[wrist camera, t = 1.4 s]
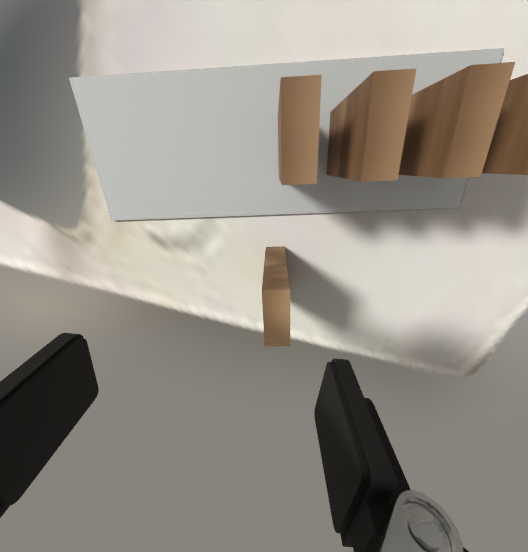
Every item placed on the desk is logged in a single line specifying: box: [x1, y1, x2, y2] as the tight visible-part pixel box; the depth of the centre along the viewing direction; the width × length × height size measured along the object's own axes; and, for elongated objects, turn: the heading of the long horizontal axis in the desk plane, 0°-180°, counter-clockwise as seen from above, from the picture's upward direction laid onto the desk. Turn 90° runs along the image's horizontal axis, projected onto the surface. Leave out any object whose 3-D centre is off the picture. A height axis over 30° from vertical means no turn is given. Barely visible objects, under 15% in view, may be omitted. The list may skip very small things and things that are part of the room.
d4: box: [278, 75, 322, 185], centre depth 18 cm, size 2×5×10 cm, turn 2°
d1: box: [482, 74, 528, 175], centre depth 17 cm, size 2×5×10 cm, turn 3°
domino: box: [262, 247, 290, 346], centre depth 23 cm, size 2×5×10 cm, turn 3°
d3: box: [327, 68, 417, 182], centre depth 17 cm, size 2×5×10 cm, turn 2°
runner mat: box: [69, 48, 504, 221], centre depth 22 cm, size 35×12×1 cm, turn 92°
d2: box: [398, 62, 515, 178], centre depth 17 cm, size 2×5×10 cm, turn 2°
